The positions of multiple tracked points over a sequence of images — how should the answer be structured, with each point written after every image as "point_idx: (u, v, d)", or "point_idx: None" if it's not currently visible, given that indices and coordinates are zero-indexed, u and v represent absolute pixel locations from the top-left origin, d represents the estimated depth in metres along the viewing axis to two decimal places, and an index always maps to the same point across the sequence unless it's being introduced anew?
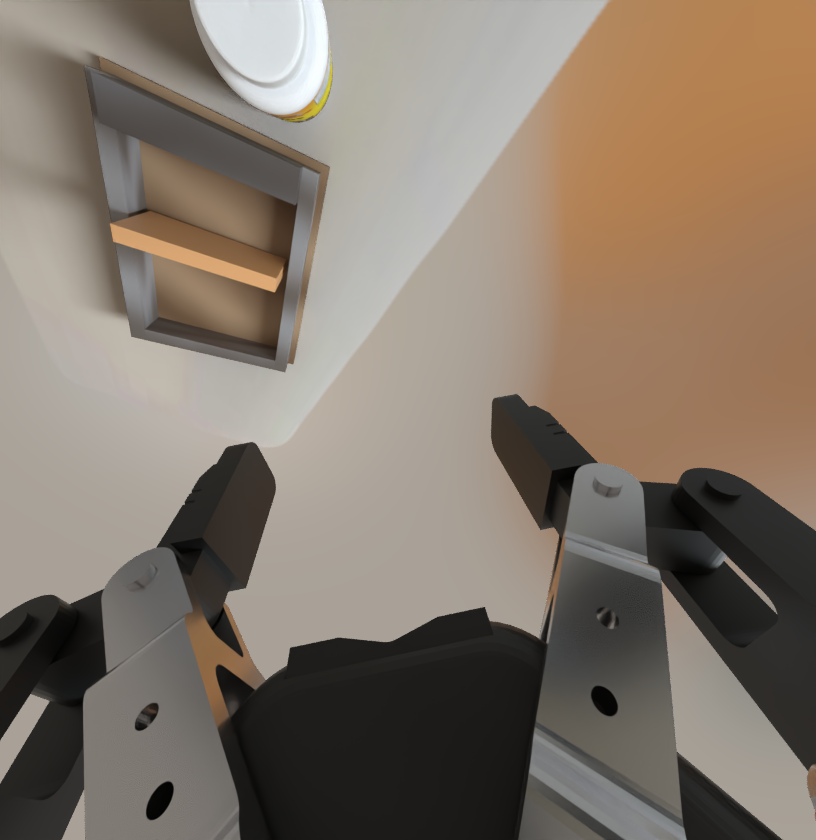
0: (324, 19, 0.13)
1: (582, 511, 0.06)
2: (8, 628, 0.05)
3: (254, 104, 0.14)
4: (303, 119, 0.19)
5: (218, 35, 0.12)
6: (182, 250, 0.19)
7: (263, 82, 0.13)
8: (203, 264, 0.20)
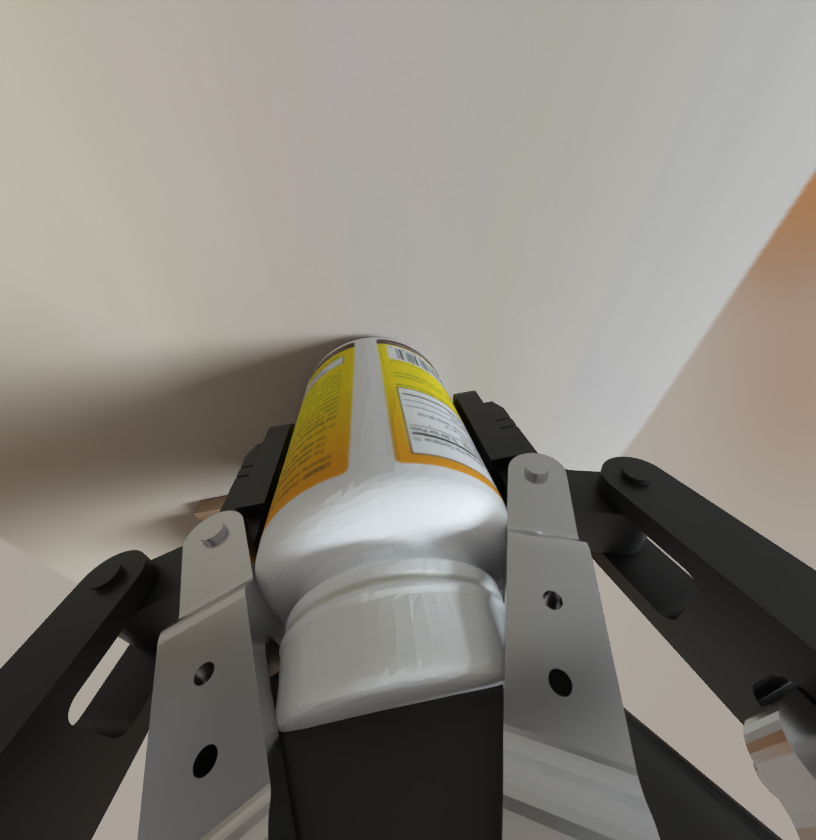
0: None
1: (508, 496, 0.06)
2: (105, 576, 0.06)
3: None
4: None
5: None
6: None
7: None
8: None
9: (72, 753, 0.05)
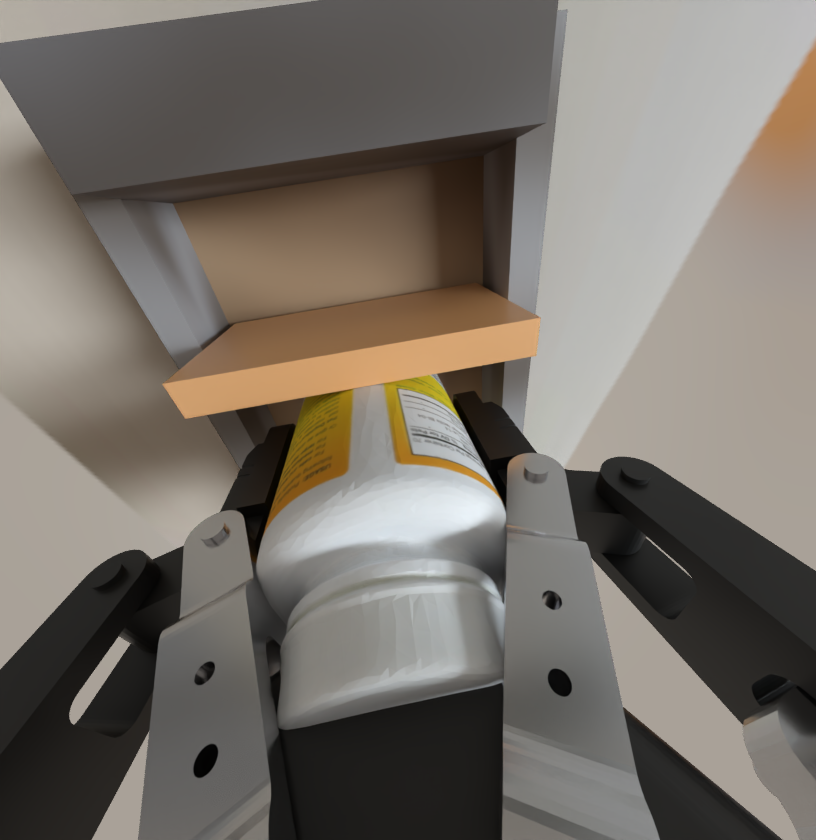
0: None
1: (507, 495, 0.06)
2: (106, 575, 0.06)
3: None
4: None
5: None
6: (317, 364, 0.07)
7: None
8: (369, 372, 0.08)
9: (73, 752, 0.05)
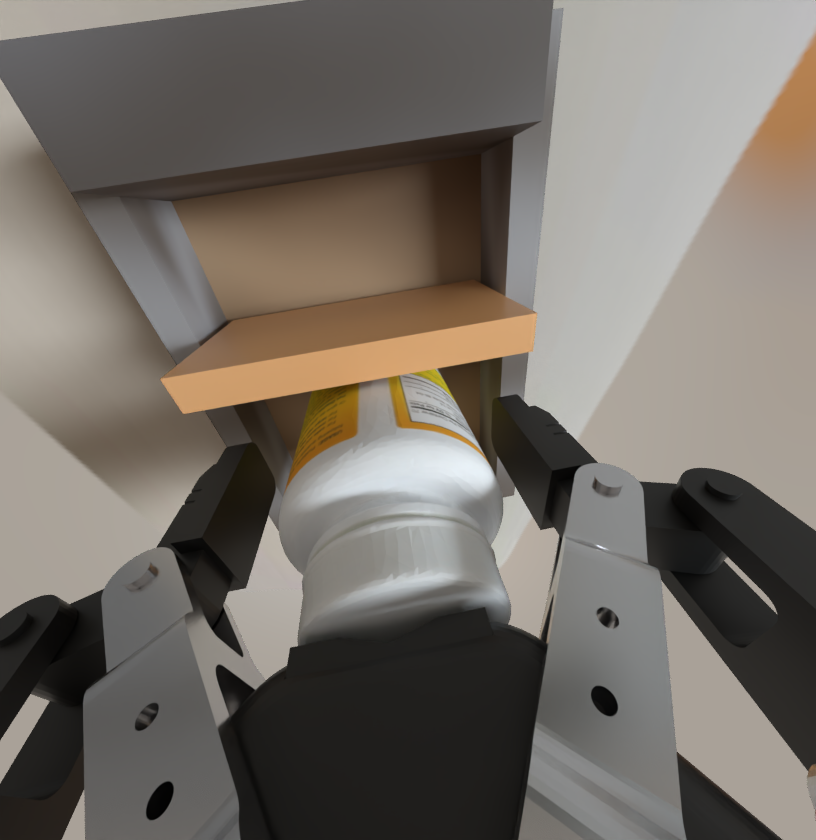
0: (493, 479, 0.07)
1: (582, 511, 0.06)
2: (9, 627, 0.05)
3: None
4: None
5: None
6: (314, 359, 0.07)
7: None
8: (366, 367, 0.08)
9: None
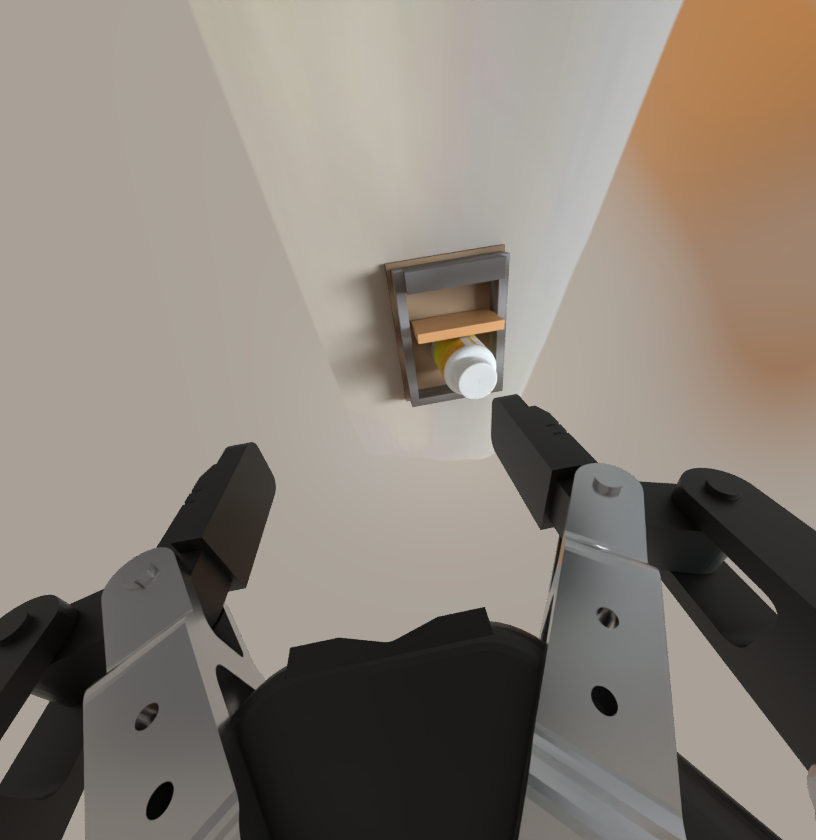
0: None
1: (582, 511, 0.06)
2: (9, 627, 0.05)
3: None
4: None
5: (468, 394, 0.30)
6: (452, 330, 0.31)
7: (484, 396, 0.31)
8: (463, 332, 0.31)
9: None
